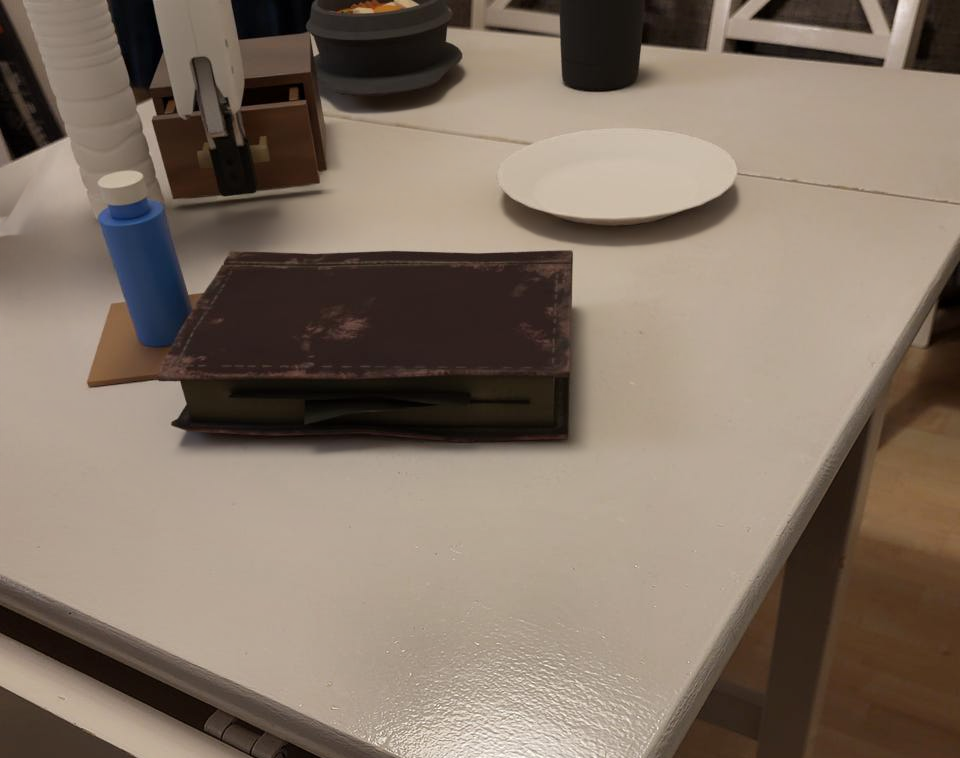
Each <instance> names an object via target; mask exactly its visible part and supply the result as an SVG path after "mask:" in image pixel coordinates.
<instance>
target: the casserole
mask: <svg viewBox="0 0 960 758" xmlns="http://www.w3.org/2000/svg"><path fill="white" fill-rule="evenodd" d="M453 15H454V13H453V11H452V9H451V8H450V7H449V6H448V5H447V3H446V0H314V1H313V2H312V4H311V7H310V17H309V19H308V21H307V22H306V24H305V29H306V30H307V32H308V33H310V36H312V37H313V39H314V43H315V45H316V49H317V51H318V54H315V55H314V61H315V67H316V73H317V79H318V82H321V83H322V84H323V83H324V84H325V85H326V86H327V87H329V89H331V90H332V91H333V92H334V93H337V94H340V95H343V96H355V97H356V96H360V97H361V96H365V97H367V96H368V97H369V96H383V95H384V96H386V95H387V96H388V95H395V94H403V93H409V92H413V91H418V90H423V89H426V88H430V87H432V86H434V85H435V84H437V83H438V82H439V81H440V79H441V78H442V77H443V76H444V75H445V74H446V73H447V72H448V71H450V70H451V69H453V68H454V67H456V66H457V65H458V64H459V63H460V62H461V61H462V59H463V52H462V51H461V49H460V48H459V47H458V46H456V45H455V44H453V43H451V42H448V41H447V36H448V35H447V34H448V25H449V23H450V21H451V20H452V18H453Z"/></svg>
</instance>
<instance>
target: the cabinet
mask: <svg viewBox="0 0 960 758" xmlns="http://www.w3.org/2000/svg"><path fill="white" fill-rule="evenodd" d="M311 36H312V35H311V33H310V32H305V33H296V34H295V33H293V34H285V35H276V36H264V37H255V38H247V39H245V38H244V39H238V41H239V46H240V52H241V59H242V65H243V72H244V89H248V88H258V87H268V86H277V85H287V84H296V83H301V86H302V92H303V98H304V100H306V102H307V107H308V113H309V119H310V125H311V131H312V137H313V143H314V149H315V155H316V160H317V166H318V171H326V170H327V169H328V168H327V146H326V124H325V118H324V112H323V105H322V98H321V91H320V85H319V80H318V79H317V73H316V67H315V61H314V56H315V55H314V49H313V43H312V37H311ZM149 93H150V96H151V100H152V105H153V107H154V112H155V116H158V115H165V110H166V107H167V104H168V101H169V98H170V97H172V96H174V95H173V91H172V86H171V82H170V77H169V73H168V68H167V64H166V59H165V55H164V51H163V52H162V54H161V57H160V60H159V62H158V64H157V67H156V70H155V72H154V75H153V78H152V80H151V83H150V85H149Z"/></svg>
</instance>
